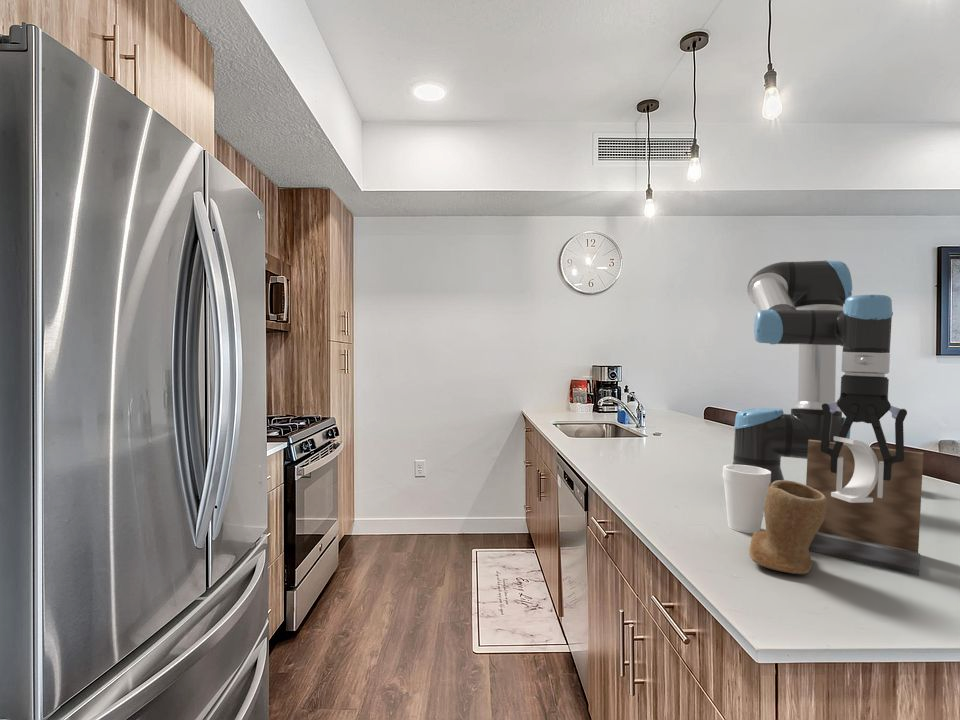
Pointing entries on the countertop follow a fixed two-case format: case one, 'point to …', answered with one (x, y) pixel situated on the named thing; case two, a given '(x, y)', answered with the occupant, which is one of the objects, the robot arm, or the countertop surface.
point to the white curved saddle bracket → (859, 473)
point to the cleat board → (870, 512)
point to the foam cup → (745, 496)
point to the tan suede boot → (788, 527)
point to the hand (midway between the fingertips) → (859, 492)
